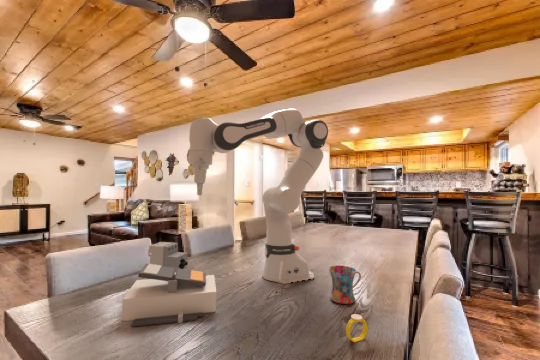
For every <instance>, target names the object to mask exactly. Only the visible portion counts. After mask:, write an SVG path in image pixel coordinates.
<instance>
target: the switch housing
mask: <svg viewBox="0 0 540 360" xmlns="http://www.w3.org/2000/svg"><path fill="white" fill-rule="evenodd" d="M179 269H180V268H179ZM216 287H217V285H216V277H215V274H208V275H207V274H206V285H205V286H198V285H191V284H184V283H177V280H169V281H163V280H155V279H147V278H143V279H136V280H135V282H134V283H133V285H132V286H131V287H130V289H129V290H128V292H127V293H126V294H125V295H124V297H123V298H122V306H121V308H122V309H121V322H127V321H133V320H134V319H138V318H148V317H158V316H168V315H178V314H179V311H183V314H188V313H198V312H204V314H205V313H215V312H217V288H216Z"/></svg>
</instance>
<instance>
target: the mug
mask: <svg viewBox="0 0 540 360" xmlns="http://www.w3.org/2000/svg"><path fill="white" fill-rule="evenodd" d="M328 271H329V274H330V277H331V284H332V285H331V292H330V294H329V298H330V300H331V301H333V302H335V303H338V304H341V305H349V304H353V303H354V302H355V301H356V297H355V295H354V289H353V288H355V287H356V286H357V285H358V284H359V282H361V278H362V275H361V273H360V272H359V271H357V269H355V268H354V267H351V266H346V265H339V264H338V265H331V266H329V267H328ZM356 274H358V275H359V276H358V279H357V280H356V282H355V283H354V280H355V276H356ZM353 283H354V284H353Z"/></svg>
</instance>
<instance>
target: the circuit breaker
mask: <svg viewBox="0 0 540 360" xmlns="http://www.w3.org/2000/svg"><path fill="white" fill-rule="evenodd" d="M148 247H149V248H148V251H147V256H148V257H149V264H154V265H161V266H165V267H172V268H176V267H177V268H180V269H185V270H188V269H187V268H188V265H189V263H188V262H189V261H188V252H182V251H181V252H180V251H178V250H179V249H178V247H179V245H178V242H166V241H159V242H157V243H153V244H150V245H148ZM146 279H148V278H146Z"/></svg>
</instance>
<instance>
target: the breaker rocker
mask: <svg viewBox="0 0 540 360" xmlns="http://www.w3.org/2000/svg"><path fill="white" fill-rule="evenodd" d="M206 275H207V273H206V272H204V271H199V270H193V269H187V270H185V269H179V268H177V267H176V268H172V267H165V266H161V265H154V264H150V263H145V264H144V265H143V267H142V269H141V270H140V271H139V272H138V275H137V277H138V278H142V279H147V278H148V279H155V280H163V281H169V280H177V283H184V284H191V285H198V286H205V285H206Z"/></svg>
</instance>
